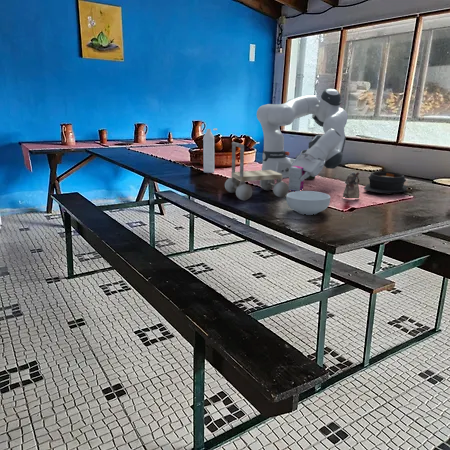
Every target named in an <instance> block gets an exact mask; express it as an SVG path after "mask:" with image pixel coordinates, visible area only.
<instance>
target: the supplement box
mask: <svg viewBox="0 0 450 450" xmlns="http://www.w3.org/2000/svg"><path fill="white" fill-rule="evenodd" d="M304 174H305V171H303V167H300V166H292V167H290V174H289V177H288V186H289V190H291V191H290V192H294V191H300V190H302V189H303V190H304V186H305V185H304V183H305V179H304V180H303V181H300V180H299V178H300V177H301V176H303V175H304ZM303 190H302V191H303Z"/></svg>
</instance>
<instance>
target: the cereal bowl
mask: <svg viewBox="0 0 450 450" xmlns="http://www.w3.org/2000/svg"><path fill="white" fill-rule="evenodd" d="M285 201H286V205H288V208H289V209H291V210H293V211H295V212H296V213H298V214H300V215H304V214H306V215H305V216H311V215H313V214H314V215H317V214H318V213H321V212H324V211H325V210H326V209H327V208H328V207H329V205H330V202H331V195H329V194H328V193H325V192H321V191H316V190H315V191H313V190H302V191H295V192H294V191H289V192H288V193H287V195H286V196H285Z"/></svg>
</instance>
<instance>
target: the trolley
mask: <svg viewBox="0 0 450 450" xmlns="http://www.w3.org/2000/svg"><path fill="white" fill-rule="evenodd" d="M236 147H238V148H239V149H240V150H239V151H240V153H239V155H240V156H239V157H240V158H239V171H236V151H237V150H236ZM244 159H245V145H244V144H242V143H239V142H235V141H232V142H231V172H230V173H231V174H230V175H231V177H229V178H227V179H226V180H225V182H224V188H225V190H226V191H227V193H231V194H235V195H236V197H237V198H238V199H239V200H241V201H247V200H249V199H251V197H252V195H253V189H252V187H251V186H250V185H249V184H246V182H254V181H255V182H256V181H259V187H260V188H261V189H263V190H265V191H271V190H272V192H273V194H274V196H276V197H277V198H284V197H286V195H287V194H288V193H289V192H290V191H289V183H286V182H285V181H283V178H282V174H280V173H278V172H275V171H272V170H262V169H260V170H246V171H245V170H244V169H245V168H244V167H245V166H244V162H245V161H244ZM275 182H276V183H275Z"/></svg>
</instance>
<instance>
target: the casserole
mask: <svg viewBox="0 0 450 450" xmlns="http://www.w3.org/2000/svg"><path fill="white" fill-rule="evenodd" d="M405 177H406V176H405V175H404V174H401V173H398V172H393V171H392V172H391V171H374V172H371V173H370V175H369V176H368V177H367V178H368V180H369V183H367V184H366V185H365V186H364V187H363V190H365V191H368V192H371V193H378V194H383V193H395V194H399V193H403V192H406V191H407V188H408V185H405V183H406V181H407V179H406V178H405Z"/></svg>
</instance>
